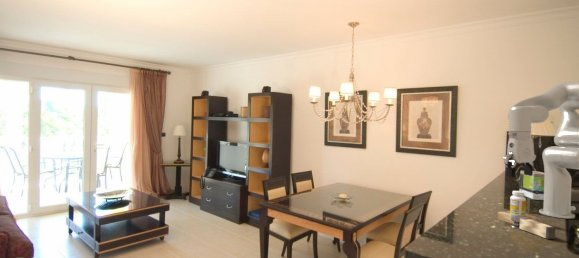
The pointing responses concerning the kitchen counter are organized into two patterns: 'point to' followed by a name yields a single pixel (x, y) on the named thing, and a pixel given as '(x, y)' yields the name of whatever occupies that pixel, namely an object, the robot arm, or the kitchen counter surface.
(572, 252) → the kitchen counter surface
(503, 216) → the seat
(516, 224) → the pivot pin
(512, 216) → the leg
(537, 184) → the tea box
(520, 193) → the supplement bottle
